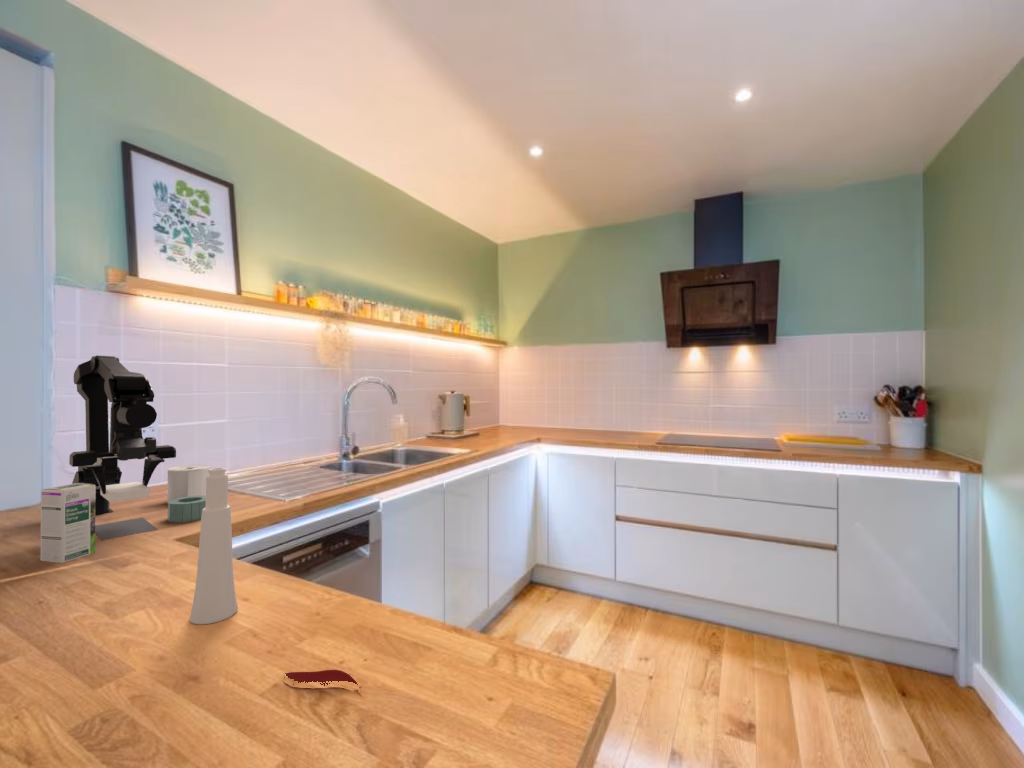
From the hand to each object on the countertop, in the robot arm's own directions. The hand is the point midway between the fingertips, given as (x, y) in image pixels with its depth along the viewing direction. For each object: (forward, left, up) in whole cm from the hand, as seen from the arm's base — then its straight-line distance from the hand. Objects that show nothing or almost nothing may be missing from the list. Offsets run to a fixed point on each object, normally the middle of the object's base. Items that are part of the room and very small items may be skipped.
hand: (124, 491), depth 106 cm
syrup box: (+15, -11, -10) cm, 21 cm away
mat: (0, 0, -9) cm, 9 cm away
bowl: (+1, +13, -9) cm, 16 cm away
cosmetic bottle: (+62, 0, -10) cm, 63 cm away
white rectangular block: (0, 0, -1) cm, 1 cm away
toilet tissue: (-21, +19, -10) cm, 30 cm away
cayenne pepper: (+89, +3, -10) cm, 90 cm away
